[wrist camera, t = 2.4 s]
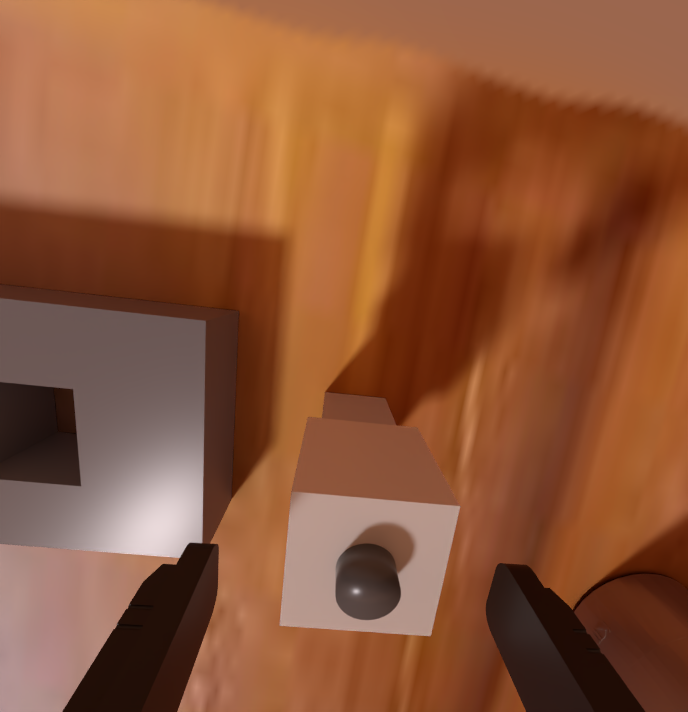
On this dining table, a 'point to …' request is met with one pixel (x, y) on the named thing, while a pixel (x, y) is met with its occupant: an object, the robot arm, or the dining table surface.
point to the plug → (366, 524)
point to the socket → (115, 421)
